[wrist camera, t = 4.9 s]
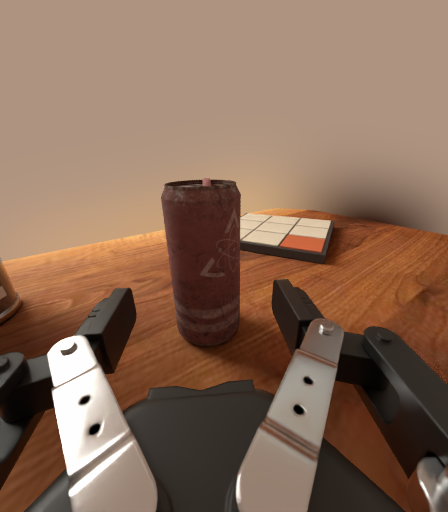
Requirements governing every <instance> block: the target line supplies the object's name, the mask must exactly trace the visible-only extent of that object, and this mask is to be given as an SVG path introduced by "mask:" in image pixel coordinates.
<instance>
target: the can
mask: <svg viewBox="0 0 448 512" xmlns="http://www.w3.org/2000/svg"><path fill="white" fill-rule="evenodd" d="M240 197H241V194H240V192H239V190H238V188H237V186H236V182H235V181H229V180H210V179H209V178H205V179H203V180H189V181H178V182H170V183H166V184H165V188H164V191H163V193H162V197H161V199H162V208H163V215H164V223H165V231H166V239H167V247H168V254H169V262H170V270H171V278H172V286H173V293H174V301H175V309H176V317H177V324H178V329H179V332H180V334H181V335H182V336H183V337H184V338H185V339H186V340H188V341H189V342H191V343H193V344H195V345H198V346H205V347H207V346H216V345H219V344H221V343H224V342H226V341H227V340H228V339H230V338H231V337H232V336H233V335H234V333H235V332H236V331H237V329H238V326H239V315H240Z"/></svg>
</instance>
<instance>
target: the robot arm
mask: <svg viewBox="0 0 448 512" xmlns="http://www.w3.org/2000/svg"><path fill="white" fill-rule="evenodd" d="M20 305H21V300H20V297H19V295H18V293H17V292H16V291H15V289H14V287H13V285H12V283H11V281H10V278H9V276H8V274H7V271H6V269H5V267H4V265H3V263H2V260H1V258H0V324H1V323H3V322H4V321H6V320H7V319H8V318H10V317H11V316H12V315H13V314H14V313H15V312H16V311H17V310H18V309H19V307H20ZM272 310H273V314H274V316H275V318H276V321H277V323H278V325H279V327H280V330H281V332H282V334H283V337H284V339H285V341H286V343H287V346H288V348H289V350H290V352H291V355H292V359H291V361H290V364H289V366H288V368H287V370H286V372H285V375H284V377H283V379H282V381H281V384H280V386H279V388H278V390H277V393H276V395H273V394H271V393H269V392H267V391H264V390H261V389H257V388H254V384H253V380H241V381H229V382H225V383H222V384H219V385H216V386H213V387H210V388H208V389H205V390H196V389H190V388H184V387H178V386H171V387H159V388H150V389H149V394H148V398H145V399H143V400H141V401H138V402H136V403H135V404H133V405H131V406H130V407H128V408H127V409H126V410H124V411H123V412H122V411H121V408H120V406H119V404H118V402H117V400H116V398H115V395H114V393H113V391H112V389H111V387H110V385H109V383H108V380H107V378H106V376H105V374H112V373H114V372H115V369H116V367H117V365H118V362H119V360H120V358H121V355H122V353H123V350H124V348H125V346H126V343H127V341H128V339H129V336H130V334H131V331H132V329H133V327H134V324H135V322H136V308H135V304H134V299H133V294H132V290H131V289H130V288H117V289H114V291H113V292H112V294H111V295H110V297H109V298H105V299H103V300H102V301H101V302H99V303H98V304H97V305H96V306H95V307H94V309H93V310H92V312H91V313H90V314H89V315H88V318H86V320H85V321H84V322H83V324H82V325H81V326H80V328H79V329H78V330H77V332H76V333H75V335H74V336H71V337H68V338H65V339H63V340H61V341H59V342H58V343H56V344H55V345H54V346H53V347H52V348H51V349H50V350H49V352H48V354H46V355H42V356H39V357H35V358H32V359H28V360H26V359H25V357H24V355H23V354H22V353H20V352H10V353H6V354H3V355H1V356H0V489H1V488H2V486H3V484H4V482H5V481H6V479H7V477H8V475H9V474H10V472H11V470H12V468H13V467H14V465H15V463H16V461H17V460H18V458H19V456H20V454H21V453H22V451H23V449H24V447H25V446H26V444H27V442H28V440H29V439H30V437H31V435H32V433H33V432H34V430H35V428H36V426H37V424H38V423H39V421H40V419H41V417H42V416H43V414H44V412H45V411H46V410H49V409H51V408H54V407H55V412H56V417H57V422H58V427H59V432H60V437H61V442H62V447H63V452H64V457H65V462H66V467H67V468H66V469H65V470H64V471H63V472H62V473H61V474H60V475H59V476H58V477H57V478H56V479H55V480H54V481H53V483H52V484H51V485H50V486H49V487H48V488H47V489H46V490H45V491H44V492H43V493H42V494H41V495H40V496H39V497H38V498H37V499H36V500H35V501H34V502H33V503H32V504H31V505H30V506H29V507H28V508H27V509H26V510H25V511H24V512H405V511H404V510H403V509H402V508H401V507H400V506H399V505H398V504H397V503H396V502H395V501H394V500H393V499H392V498H390V497H389V496H388V495H387V494H386V493H385V492H384V491H383V490H382V489H380V488H379V487H378V486H377V485H376V484H375V483H374V482H373V481H372V480H370V479H369V478H368V477H367V476H366V475H365V474H364V473H363V472H361V471H360V470H359V469H358V468H357V467H356V466H355V465H354V464H353V463H351V462H350V461H349V460H348V459H347V458H346V457H345V456H344V455H342V454H341V453H340V452H339V451H338V450H337V449H336V448H335V447H334V446H332V445H331V444H330V443H329V442H328V441H327V440H326V439H325V438H324V437H323V433H324V428H325V423H326V419H327V414H328V409H329V405H330V400H331V395H332V391H333V386H334V381H335V380H336V381H340V382H345V383H350V384H353V385H354V387H355V388H356V390H357V392H358V394H359V395H360V397H361V399H362V400H363V402H364V404H365V405H366V407H367V409H368V411H369V412H370V414H371V416H372V417H373V419H374V421H375V422H376V424H377V426H378V428H379V429H380V431H381V433H382V434H383V436H384V438H385V440H386V441H387V443H388V445H389V446H390V448H391V450H392V451H393V453H394V455H395V457H396V458H397V460H398V462H399V463H400V465H401V467H402V468H403V470H404V472H405V474H406V475H407V477H408V479H409V480H408V481H407V483H406V496H407V499H408V502H409V505H410V507H411V509H412V511H413V512H448V385H447V384H446V383H445V382H444V381H443V380H442V379H441V378H440V377H439V376H438V375H437V374H436V373H435V372H434V371H433V370H432V369H431V368H430V367H429V366H428V365H427V364H426V363H425V362H424V361H423V360H422V359H421V358H420V357H419V356H418V355H417V354H416V353H415V352H414V351H413V350H412V349H411V348H410V347H409V346H408V345H407V344H406V343H405V342H404V341H403V340H402V339H401V338H400V337H399V336H398V335H397V334H395V333H394V332H392V331H390V330H388V329H385V328H382V327H375V326H373V327H368V328H366V329H365V331H364V335H360V334H354V333H348V332H344V331H343V329H342V327H341V326H340V325H338V324H337V323H335V322H333V321H331V320H328V319H325V318H324V317H323V315H322V314H321V313H320V311H319V310H318V309H317V307H316V306H315V305H314V304H313V302H312V301H311V299H309V297H308V295H307V294H306V293H305V292H304V291H303V290H301V289H300V288H298V287H293V286H292V284H291V283H290V281H289V280H288V279H280V280H274V282H273V294H272Z"/></svg>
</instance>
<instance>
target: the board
mask: <svg viewBox="0 0 448 512" xmlns="http://www.w3.org/2000/svg"><path fill="white" fill-rule="evenodd" d="M333 226H334V221H327V220H316V219H306V218H295V217H284V216H272V215H262V214H251V213H246V214H244V215H243V216H241V217H240V250H244V251H250V252H256V253H262V254H268V255H273V256H279V257H285V258H291V259H297V260H303V261H309V262H315V263H321V264H324V262H325V258H326V254H327V250H328V246H329V242H330V238H331V234H332V230H333Z"/></svg>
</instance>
